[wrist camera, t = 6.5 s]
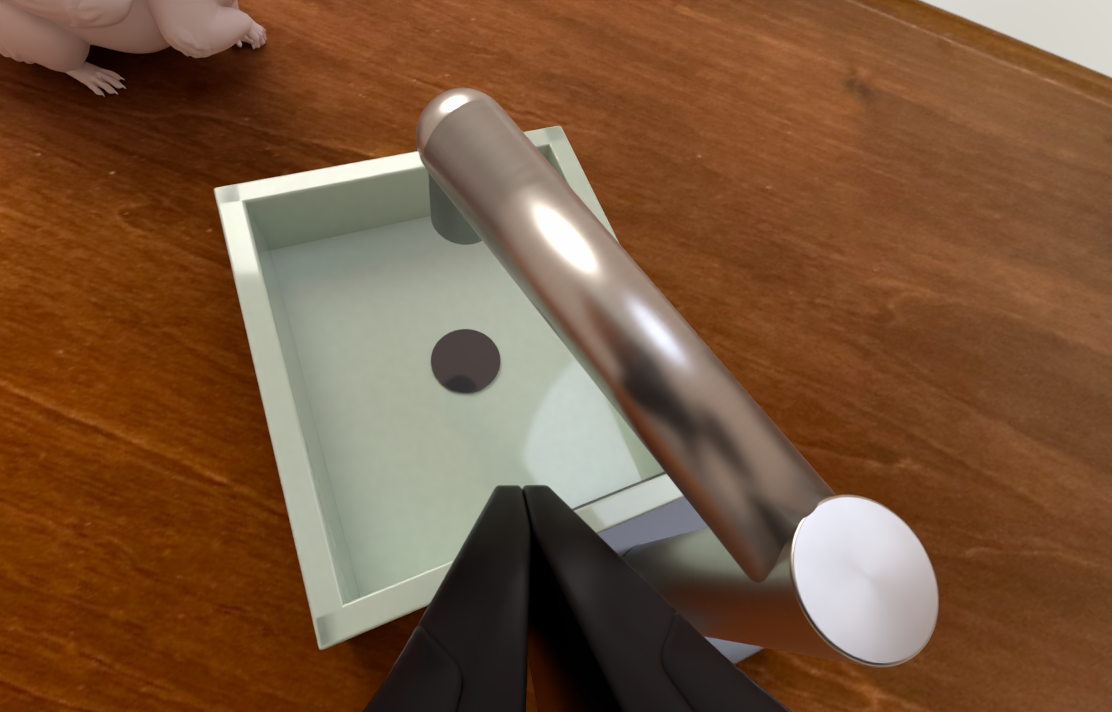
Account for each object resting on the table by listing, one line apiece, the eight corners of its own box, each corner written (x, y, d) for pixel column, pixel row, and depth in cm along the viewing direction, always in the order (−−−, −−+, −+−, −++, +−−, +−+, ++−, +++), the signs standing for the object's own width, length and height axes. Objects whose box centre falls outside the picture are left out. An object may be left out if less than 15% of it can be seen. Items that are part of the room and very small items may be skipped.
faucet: (705, 591, 17) (969, 592, 8) (650, 645, 16) (879, 709, 7) (473, 288, 20) (488, 48, 11) (415, 320, 19) (381, 88, 10)
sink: (758, 639, 18) (822, 649, 15) (392, 834, 15) (375, 902, 11) (547, 186, 24) (561, 124, 21) (250, 249, 20) (212, 186, 17)
